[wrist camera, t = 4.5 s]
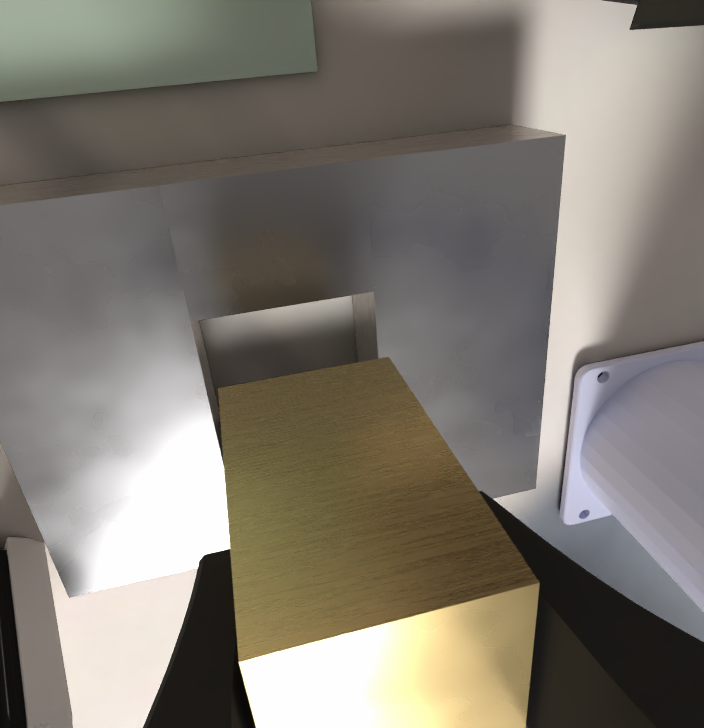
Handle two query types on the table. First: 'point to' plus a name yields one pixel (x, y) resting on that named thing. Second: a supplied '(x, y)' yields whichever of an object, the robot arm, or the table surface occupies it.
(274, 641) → the brass peg
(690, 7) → the diary
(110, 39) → the rubber mat
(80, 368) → the metal square hole block
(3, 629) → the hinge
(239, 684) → the robot arm
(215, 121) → the table surface
